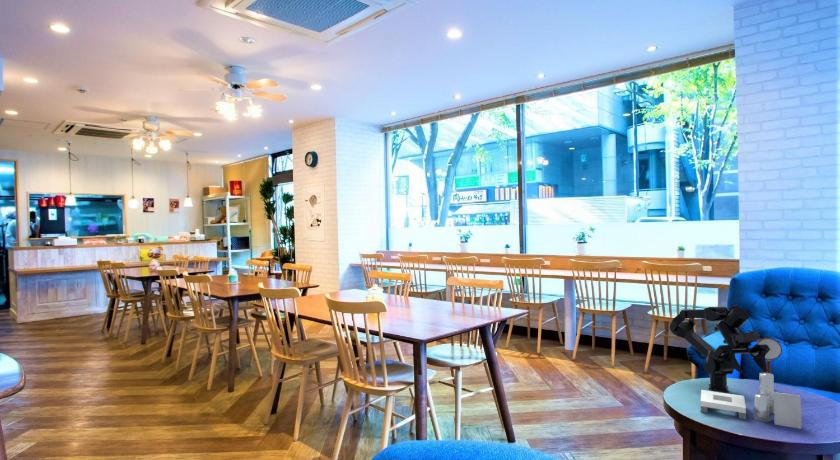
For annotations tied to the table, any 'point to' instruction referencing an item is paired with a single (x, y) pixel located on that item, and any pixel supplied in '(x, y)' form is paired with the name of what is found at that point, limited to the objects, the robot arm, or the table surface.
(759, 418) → the short pin
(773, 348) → the magnifying glass
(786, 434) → the table surface
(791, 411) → the ivan chai tea box
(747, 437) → the table surface
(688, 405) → the table surface
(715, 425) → the table surface
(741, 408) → the hole board
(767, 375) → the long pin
